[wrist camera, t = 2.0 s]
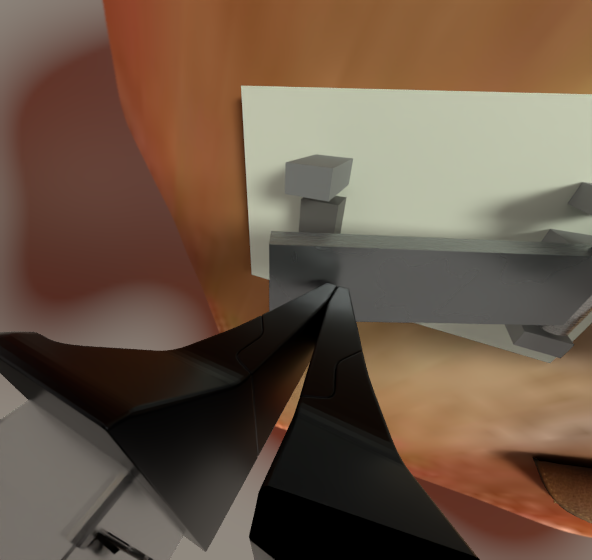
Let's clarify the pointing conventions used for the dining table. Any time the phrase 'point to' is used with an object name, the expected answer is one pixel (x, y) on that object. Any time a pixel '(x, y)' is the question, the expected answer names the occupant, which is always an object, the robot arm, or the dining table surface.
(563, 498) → the sunglasses case
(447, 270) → the bar
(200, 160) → the dining table surface
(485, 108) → the base
